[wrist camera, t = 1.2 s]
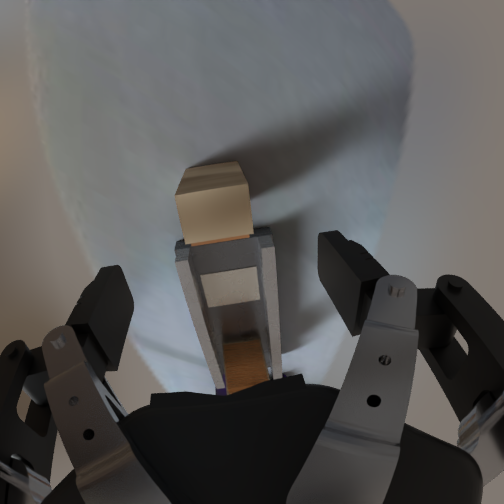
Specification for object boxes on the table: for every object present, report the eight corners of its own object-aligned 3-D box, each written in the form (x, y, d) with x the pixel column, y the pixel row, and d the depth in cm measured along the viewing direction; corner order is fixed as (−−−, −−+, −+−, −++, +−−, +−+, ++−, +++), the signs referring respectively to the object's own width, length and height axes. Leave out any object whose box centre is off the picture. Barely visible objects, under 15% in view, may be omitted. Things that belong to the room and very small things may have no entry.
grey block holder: (176, 241, 23) (163, 305, 16) (269, 226, 24) (295, 284, 16) (213, 366, 32) (217, 426, 24) (278, 355, 32) (294, 414, 25)
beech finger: (242, 203, 23) (254, 242, 17) (193, 211, 22) (187, 253, 16) (237, 160, 21) (248, 183, 15) (185, 168, 21) (174, 195, 14)
